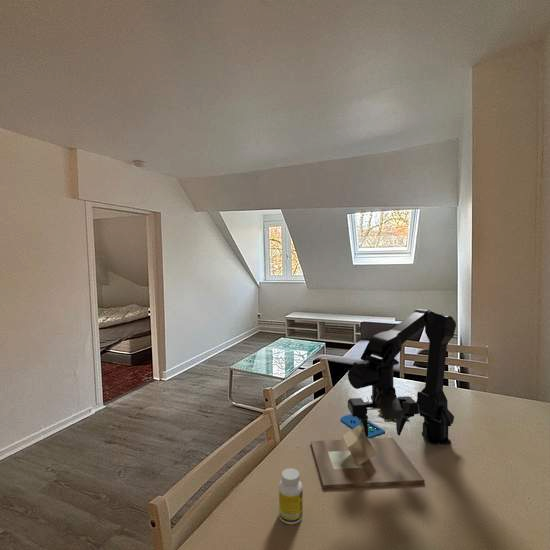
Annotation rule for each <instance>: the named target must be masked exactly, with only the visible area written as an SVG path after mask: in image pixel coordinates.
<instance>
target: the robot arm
mask: <svg viewBox="0 0 550 550" xmlns="http://www.w3.org/2000/svg"><path fill="white" fill-rule="evenodd" d="M423 328H424V332H425V333H424V334H425V335H426V337H427V339H428V341H429V342H428V344H429V345H428V354H427V362H426V363H427V365H426V375H425V384H424V388H422V390H421V391H417V394H416V401H415V400H414V399H413V398H412V397H411V396H409V395H408V396H406V395H405V396H397V393H396V388H395V387H394V366H396V365H399V364H400V361H398V360H397V359H396V357H397V356H398V355H399V353H401V351H402V348H403V344H404V343H406V341H408V340H409V339H410V338H412V337H413V336H414V335H416V334H417V333H418V332H419V331H420V330H422V329H423ZM456 328H457V323H456V320H455V319H454V318H453V316H451V315H446V314H439V313H436V312H434V311H431V309H425V308H424V309H423V308H417V309H414V310H413V312H412V313H411V314H409V316H408V317H406V318H405V319H403V320H402V321H400V322H399V323H397V325H395V326H394V327H393V328H391V329H390V330H386V331H380V332H378V333H377V334H374V335H372V336H371V337H370V338H369V339H368V343H367V345H366V347H365V349H364V350H363V353H362V355H361V357H360V360H362V361H354V362H353V363H352V366H351V367H350V368H349V369H348V372H347V378H348V379H347V380H348V382H349V384H350V385H351V387H352V388H353V389H356V390H359V389H363V388H368V387H370V386H371V395H370V400H371V402H369V401H367V402H365V401H364V400H363V398H362V397H359V398H357V397H354V398H353V397H351V398H349V399H348V400H347V408H348V411H349V412H350V414H352V415H353V416H356V417H357V418H358V419H360V421H361V424H362V427H363V429H364V432H365V435H366V437H368V423H367V420H368V421H369V416H368V411H373V410H375V411H376V410H377V411H378V410H380V411H381V412H380V413H382V416H381V417H382V418H383V420H384V419H386V420H390V419H396V421H395V422H396V434H397V436H399V437H400V436H401V434H402V431H403V429H404V427H405V424H406V422H408V421H407V419H410V418H411V417H412V418H413V417H415V415H419V417H422V418H423V422H422V431H421V435H422V436H423V437H424V438H425V439H426V440H427V442H429V443H430V445H439V444H440V445H442V444H443V445H444V444H446V445H447V444H452V441H451V439H449V427H451V426H452V424H454V420H455V416H454V415H453V413H452V412H451V411H450V410H449V409H448V407H449V405H448V403H449V402H448V399H447V397H446V394H445V393H444V392H445V391H444V379H445V371H446V370H445V369H446V358H447V347H448V343H450V341H451V340H452V339H453V338H454V336H455V331H456ZM390 421H391V420H390Z"/></svg>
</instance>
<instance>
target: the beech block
mask: <svg viewBox="0 0 550 550" xmlns="http://www.w3.org/2000/svg"><path fill="white" fill-rule="evenodd" d="M341 437H342V440H344V441H345V444H346V446H347V448H348V449H349V451H350V453H351V454H352V456H353V458H354V459H355V461H356V463H357V464H358V465H360V464H362V463H363V462H365V461H367V460H368V459H370V458H371V457H373V456H375V455H376V454H377V453H376V452H375V450H374V448H373V447H372V445H371V443H370V442H369V440H368V438H367V437H366V435H365V433H364V432H363V430H362V428H361V427H360V425H359V426H357V427H355V428H354V429H351V430H349V431H347V432H346V433H343V434H342V435H341Z"/></svg>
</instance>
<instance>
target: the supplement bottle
mask: <svg viewBox="0 0 550 550" xmlns="http://www.w3.org/2000/svg"><path fill="white" fill-rule="evenodd" d="M303 496H304V495H303V483H302V482H301V481H300V472H299V471H298V470H297V469H295V468H292V467H290V468H285V469H284V470H283V471H282V472H281V480H279V484H278V517H279V520H280V521H281V522H283V523H284V524H287V525H296V524H298V523H300V521H302V519H303V517H304V516H303V513H304V511H303V509H304V508H303V507H304V506H303V505H304V504H303V502H304V501H303Z"/></svg>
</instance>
